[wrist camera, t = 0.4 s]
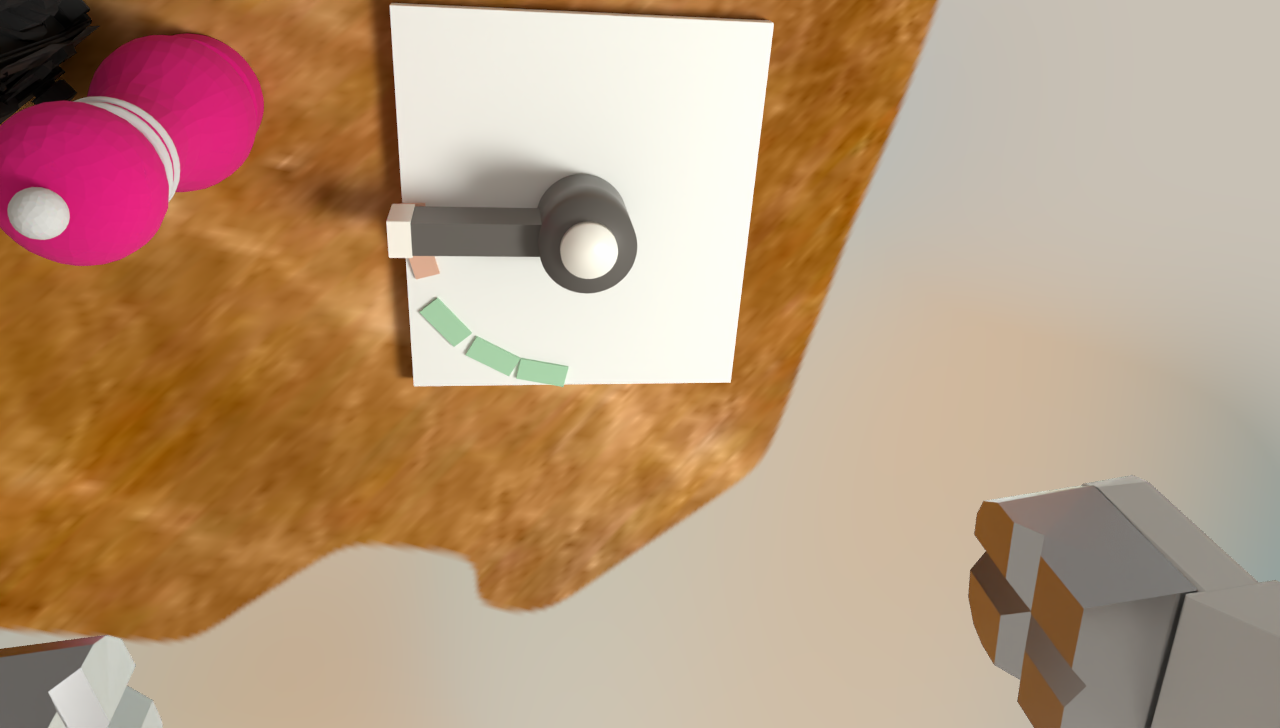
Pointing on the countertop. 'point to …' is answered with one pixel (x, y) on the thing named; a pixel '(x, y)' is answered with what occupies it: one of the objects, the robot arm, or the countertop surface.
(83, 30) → the camera
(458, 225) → the dial
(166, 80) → the pepper mill
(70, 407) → the countertop surface
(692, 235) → the tuner board
